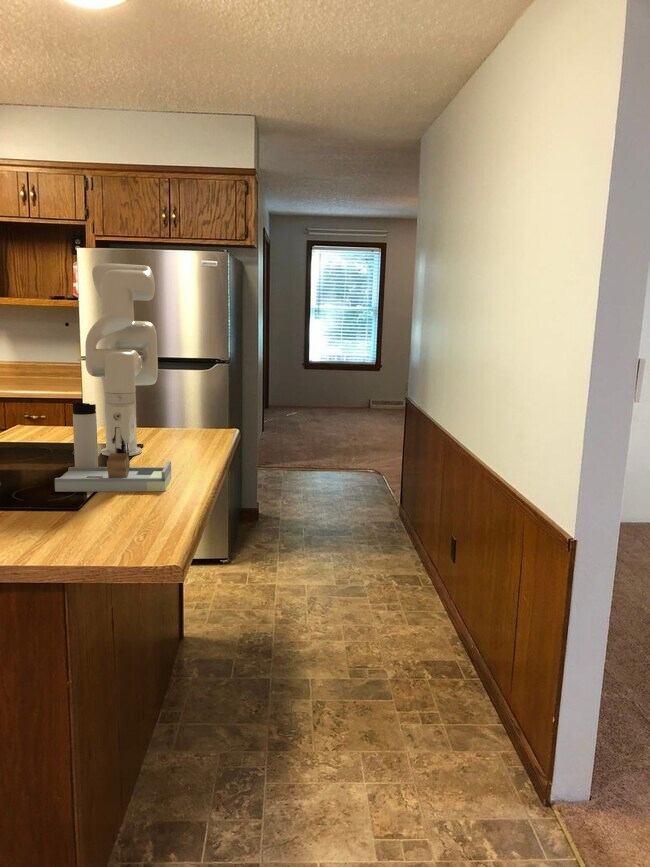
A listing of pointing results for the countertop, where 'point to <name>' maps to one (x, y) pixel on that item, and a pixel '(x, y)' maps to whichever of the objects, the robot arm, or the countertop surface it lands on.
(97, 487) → the trap box
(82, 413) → the travel mug
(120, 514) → the countertop surface
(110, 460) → the block
